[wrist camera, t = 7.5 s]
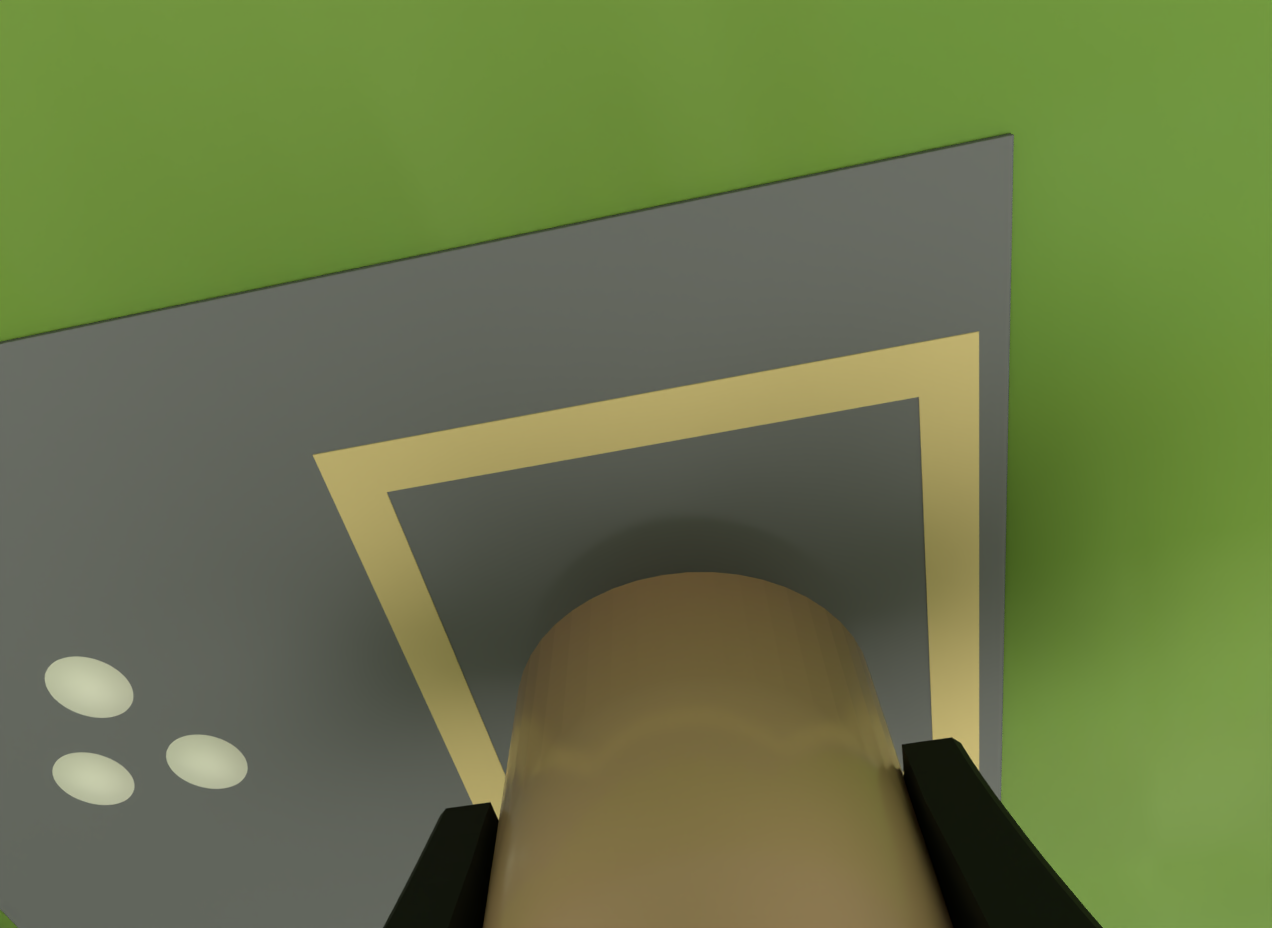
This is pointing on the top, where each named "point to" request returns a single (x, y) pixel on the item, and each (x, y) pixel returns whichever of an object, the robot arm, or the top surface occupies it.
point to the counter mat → (476, 521)
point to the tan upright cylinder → (705, 771)
